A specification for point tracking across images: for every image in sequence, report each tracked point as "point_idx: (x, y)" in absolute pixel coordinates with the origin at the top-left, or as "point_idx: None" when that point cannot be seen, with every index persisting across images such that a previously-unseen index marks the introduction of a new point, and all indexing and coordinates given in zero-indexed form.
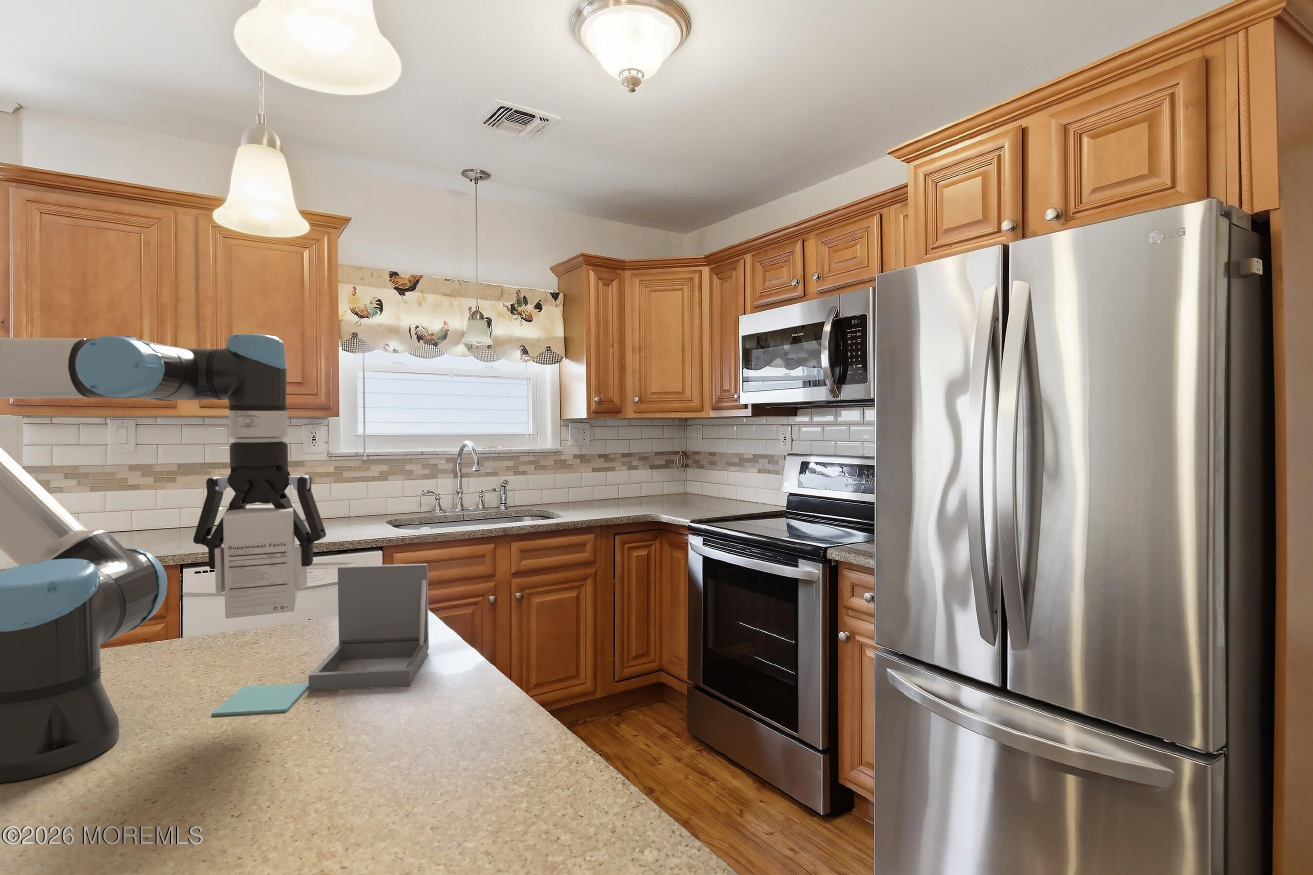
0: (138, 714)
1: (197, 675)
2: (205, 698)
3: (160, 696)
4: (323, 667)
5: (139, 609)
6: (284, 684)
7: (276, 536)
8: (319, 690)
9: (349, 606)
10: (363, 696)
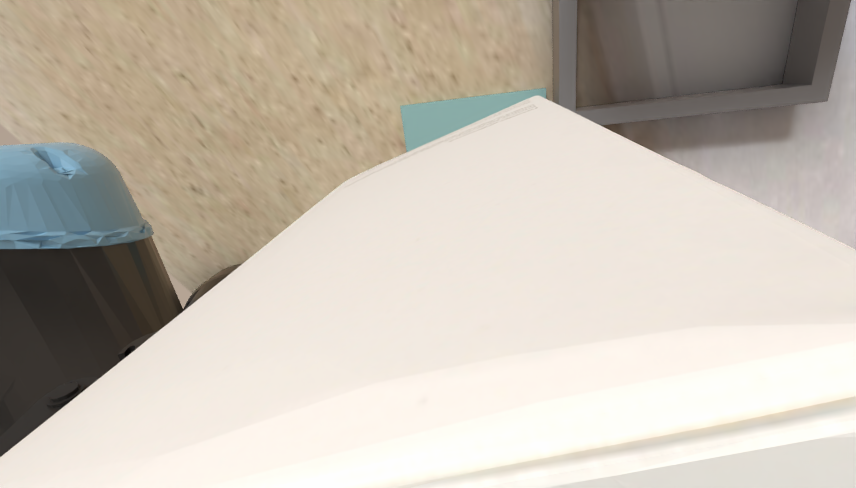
0: (291, 219)
1: (245, 12)
2: (356, 154)
3: (263, 140)
4: (575, 65)
5: (164, 318)
6: (486, 96)
7: None
8: None
9: None
10: (686, 158)
